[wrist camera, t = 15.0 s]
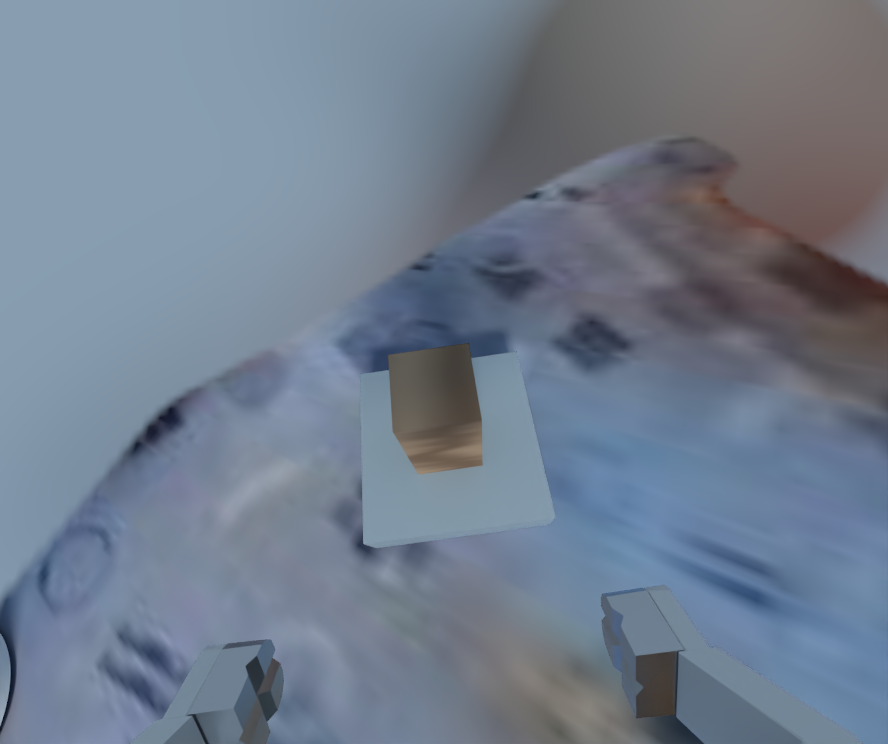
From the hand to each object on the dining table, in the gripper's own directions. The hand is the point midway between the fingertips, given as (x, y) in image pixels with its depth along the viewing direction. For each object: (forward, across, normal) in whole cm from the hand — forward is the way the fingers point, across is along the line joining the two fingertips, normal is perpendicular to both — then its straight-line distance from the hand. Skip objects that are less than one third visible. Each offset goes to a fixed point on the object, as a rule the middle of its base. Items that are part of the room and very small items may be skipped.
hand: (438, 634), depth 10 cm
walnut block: (+22, 0, +6) cm, 23 cm away
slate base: (+25, 0, +8) cm, 26 cm away
